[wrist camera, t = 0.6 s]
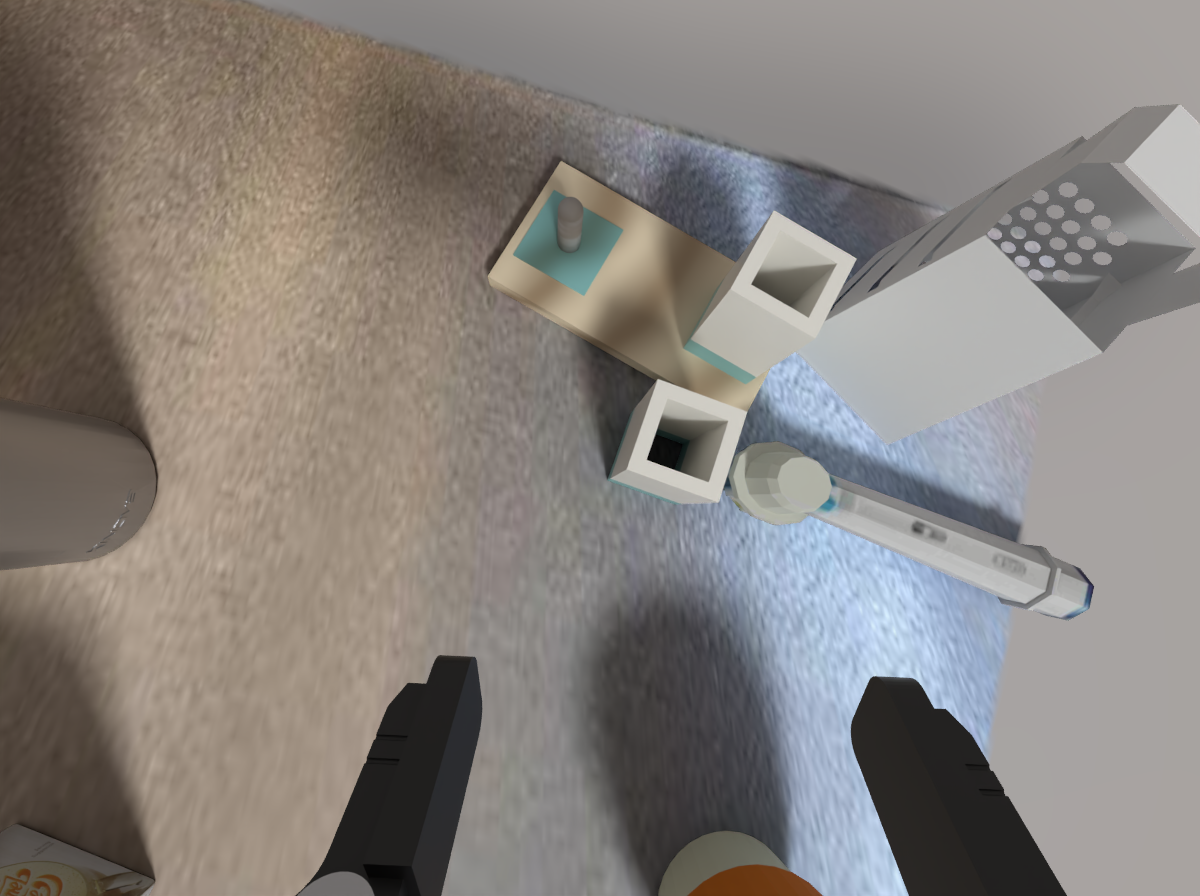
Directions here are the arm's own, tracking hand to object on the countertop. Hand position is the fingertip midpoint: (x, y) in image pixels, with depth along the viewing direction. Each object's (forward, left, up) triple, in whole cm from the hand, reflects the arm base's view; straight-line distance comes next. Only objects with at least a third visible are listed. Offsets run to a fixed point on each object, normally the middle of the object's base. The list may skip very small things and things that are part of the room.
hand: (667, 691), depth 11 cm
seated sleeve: (+1, +19, -24) cm, 30 cm away
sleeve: (0, +9, -25) cm, 27 cm away
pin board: (-6, +19, -25) cm, 32 cm away
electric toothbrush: (+17, +12, -26) cm, 34 cm away
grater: (+11, +25, -26) cm, 37 cm away
